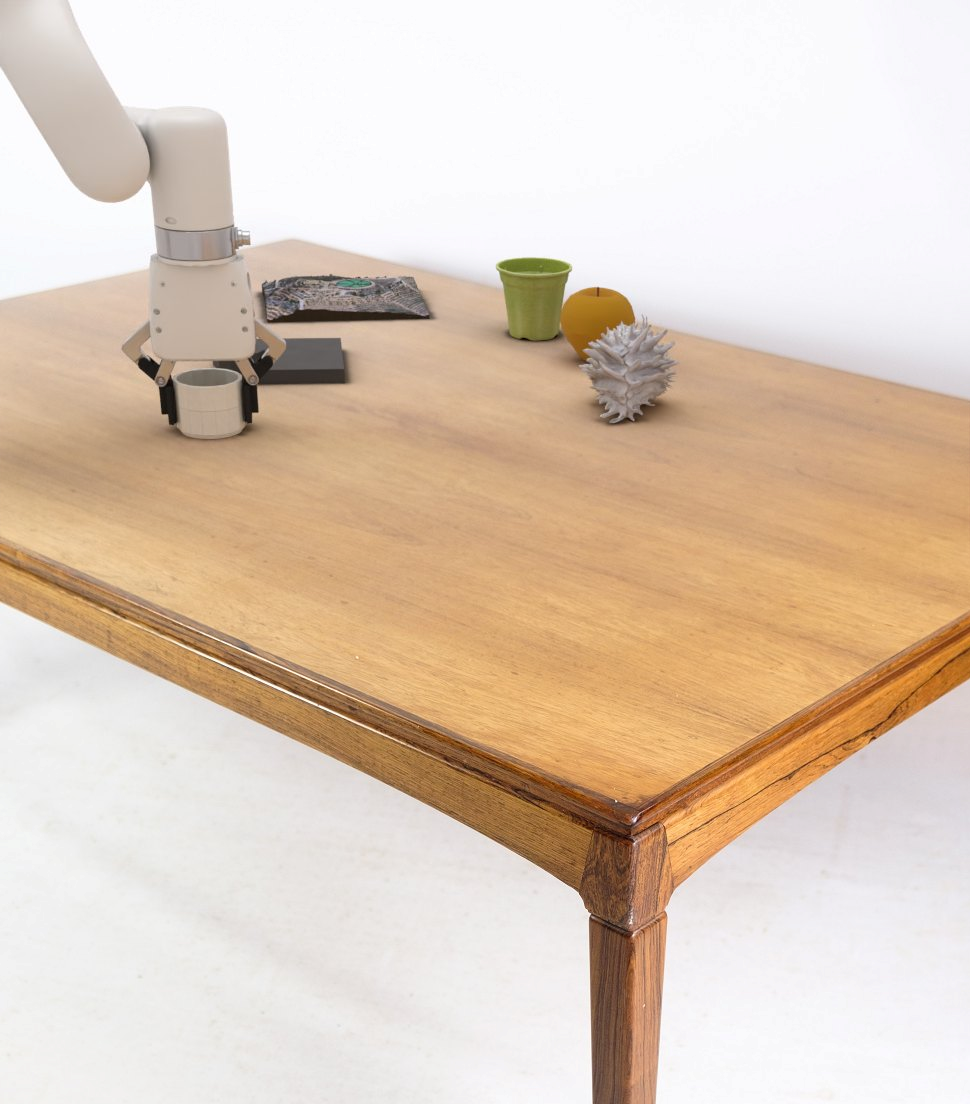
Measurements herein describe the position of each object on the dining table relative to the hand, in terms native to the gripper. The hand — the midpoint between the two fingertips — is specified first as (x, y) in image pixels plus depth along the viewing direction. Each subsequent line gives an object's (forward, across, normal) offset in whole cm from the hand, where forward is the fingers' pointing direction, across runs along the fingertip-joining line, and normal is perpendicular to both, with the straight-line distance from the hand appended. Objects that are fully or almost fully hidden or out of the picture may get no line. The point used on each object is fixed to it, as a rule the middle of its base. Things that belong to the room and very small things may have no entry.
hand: (211, 418), depth 167 cm
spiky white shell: (+1, -44, -4) cm, 44 cm away
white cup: (+1, 0, 0) cm, 1 cm away
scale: (+1, -7, -22) cm, 23 cm away
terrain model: (+1, -15, -50) cm, 52 cm away
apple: (+1, -44, -23) cm, 50 cm away
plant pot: (+1, -38, -35) cm, 52 cm away
